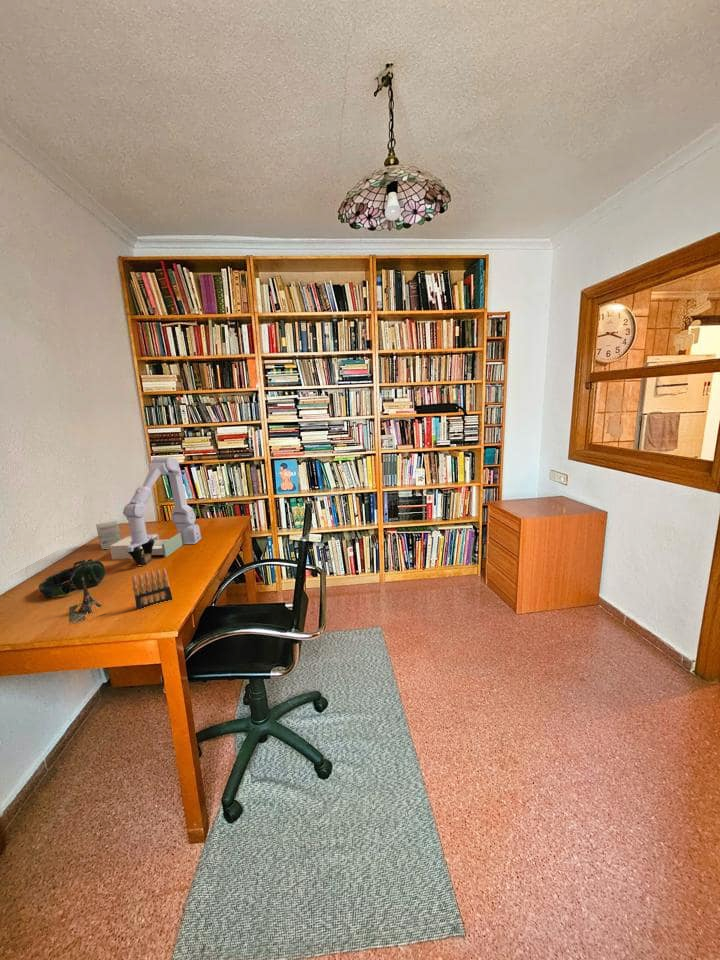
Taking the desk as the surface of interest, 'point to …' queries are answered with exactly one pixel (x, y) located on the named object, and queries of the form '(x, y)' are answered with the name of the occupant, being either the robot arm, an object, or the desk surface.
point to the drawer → (166, 546)
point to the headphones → (73, 578)
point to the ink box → (108, 533)
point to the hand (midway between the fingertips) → (144, 560)
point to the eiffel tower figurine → (86, 603)
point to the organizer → (125, 547)
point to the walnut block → (146, 559)
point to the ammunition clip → (151, 589)
